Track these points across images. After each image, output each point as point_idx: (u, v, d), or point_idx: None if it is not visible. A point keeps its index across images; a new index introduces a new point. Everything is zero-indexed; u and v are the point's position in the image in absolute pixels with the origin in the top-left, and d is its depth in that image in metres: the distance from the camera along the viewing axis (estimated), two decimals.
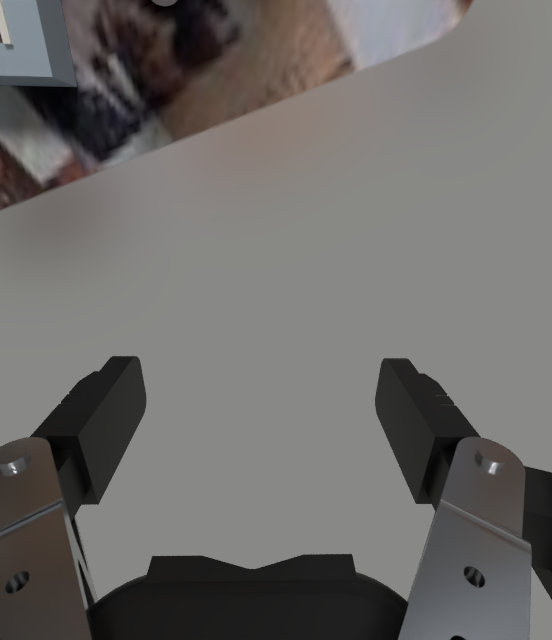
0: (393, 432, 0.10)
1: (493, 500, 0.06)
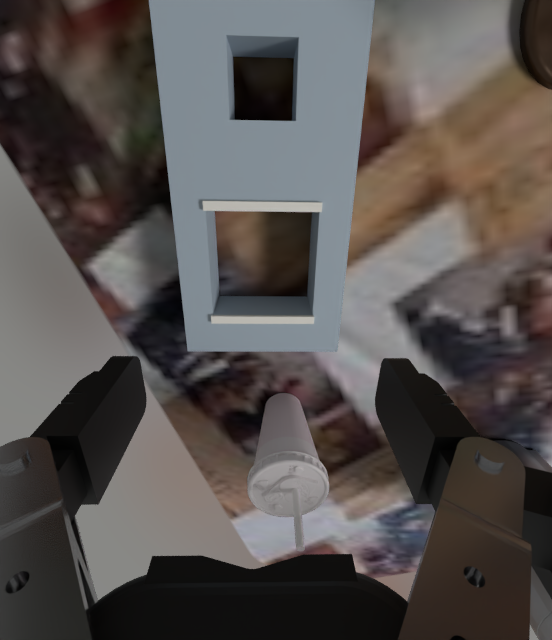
0: (393, 432, 0.10)
1: (493, 500, 0.06)
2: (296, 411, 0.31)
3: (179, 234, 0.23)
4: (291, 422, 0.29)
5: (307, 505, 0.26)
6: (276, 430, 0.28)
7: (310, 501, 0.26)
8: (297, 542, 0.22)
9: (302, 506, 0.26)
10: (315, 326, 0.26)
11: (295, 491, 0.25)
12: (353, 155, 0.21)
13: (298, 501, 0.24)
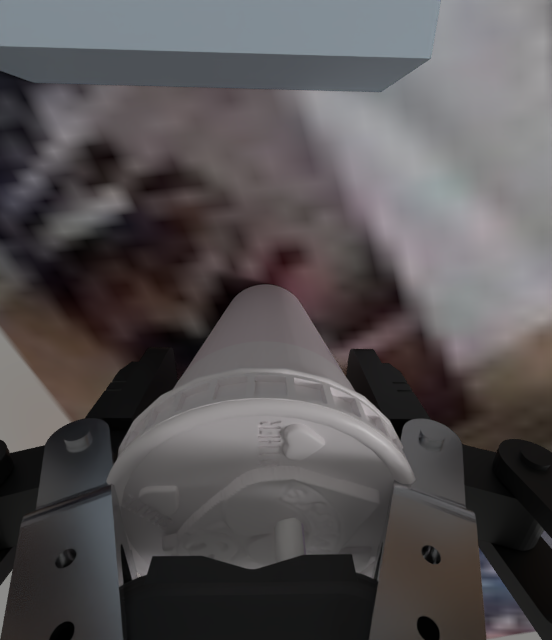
0: None
1: (438, 476, 0.06)
2: (294, 308, 0.12)
3: None
4: (280, 318, 0.10)
5: None
6: (233, 332, 0.09)
7: None
8: None
9: None
10: None
11: (288, 533, 0.06)
12: None
13: None
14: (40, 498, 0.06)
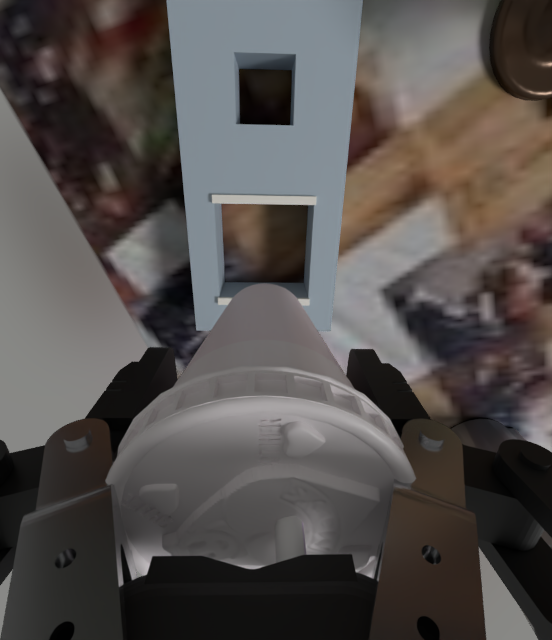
0: None
1: (438, 476, 0.06)
2: (293, 307, 0.12)
3: (190, 224, 0.26)
4: (279, 317, 0.10)
5: None
6: (232, 331, 0.09)
7: None
8: None
9: None
10: (310, 308, 0.29)
11: (289, 531, 0.06)
12: (343, 155, 0.24)
13: None
14: (39, 499, 0.06)
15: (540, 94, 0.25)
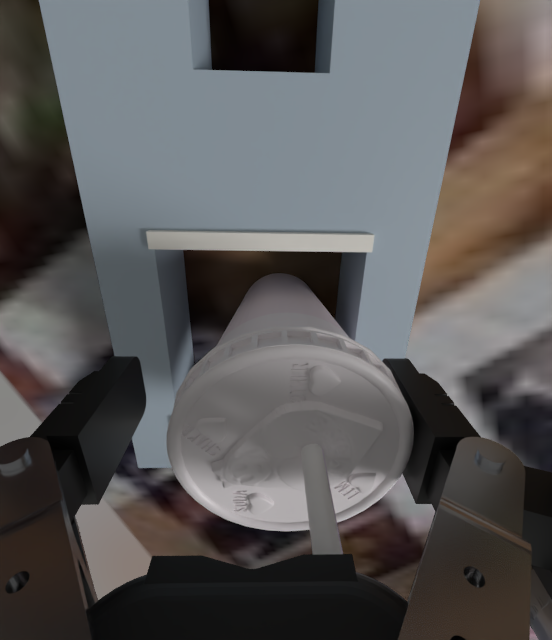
0: None
1: (493, 500, 0.06)
2: (307, 291, 0.14)
3: (109, 289, 0.12)
4: (297, 298, 0.12)
5: (344, 500, 0.09)
6: (259, 308, 0.11)
7: (354, 487, 0.09)
8: None
9: None
10: None
11: (312, 453, 0.08)
12: (440, 145, 0.11)
13: (324, 483, 0.07)
14: None
15: None
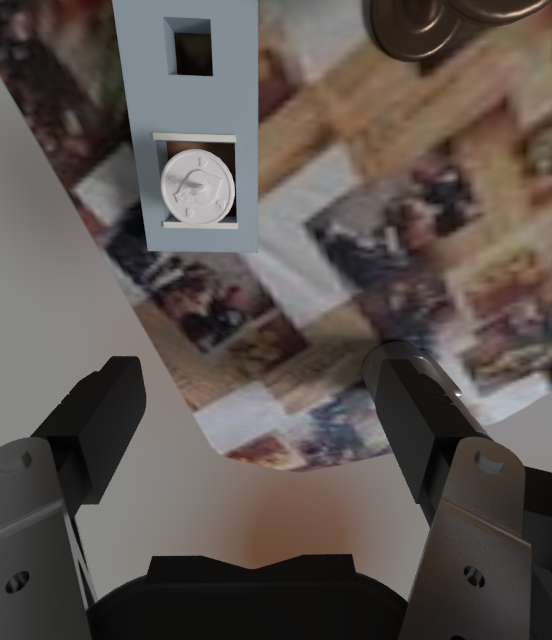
0: (393, 432, 0.10)
1: (493, 500, 0.06)
2: None
3: (138, 158, 0.33)
4: None
5: (216, 212, 0.30)
6: None
7: (218, 205, 0.30)
8: (191, 189, 0.25)
9: (212, 213, 0.30)
10: (239, 232, 0.36)
11: (201, 184, 0.28)
12: (254, 101, 0.31)
13: (201, 185, 0.28)
14: None
15: (412, 56, 0.33)
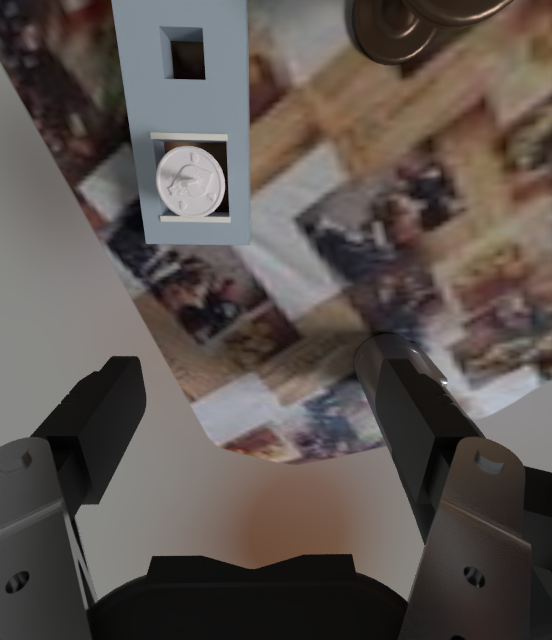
0: (393, 432, 0.10)
1: (493, 500, 0.06)
2: None
3: (136, 156, 0.35)
4: None
5: (208, 204, 0.32)
6: None
7: (209, 198, 0.32)
8: (182, 180, 0.27)
9: (204, 205, 0.32)
10: (232, 225, 0.38)
11: (193, 178, 0.31)
12: (244, 102, 0.33)
13: (193, 179, 0.30)
14: None
15: (392, 59, 0.35)
